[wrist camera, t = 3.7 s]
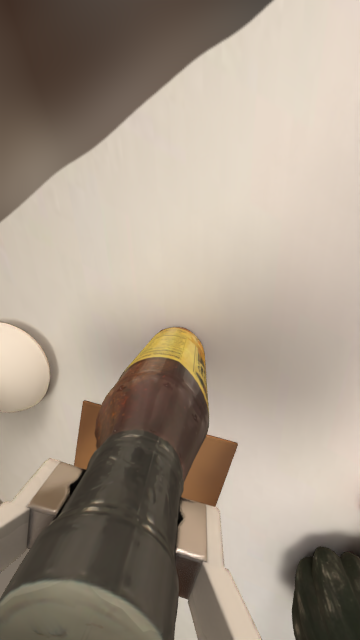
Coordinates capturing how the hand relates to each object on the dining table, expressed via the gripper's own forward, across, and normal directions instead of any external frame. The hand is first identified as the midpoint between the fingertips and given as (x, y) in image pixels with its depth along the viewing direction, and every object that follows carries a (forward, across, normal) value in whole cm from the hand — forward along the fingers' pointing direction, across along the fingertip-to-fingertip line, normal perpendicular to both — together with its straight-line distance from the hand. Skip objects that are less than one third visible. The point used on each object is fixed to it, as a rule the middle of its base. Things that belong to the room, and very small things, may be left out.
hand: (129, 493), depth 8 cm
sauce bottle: (+16, 0, 0) cm, 16 cm away
